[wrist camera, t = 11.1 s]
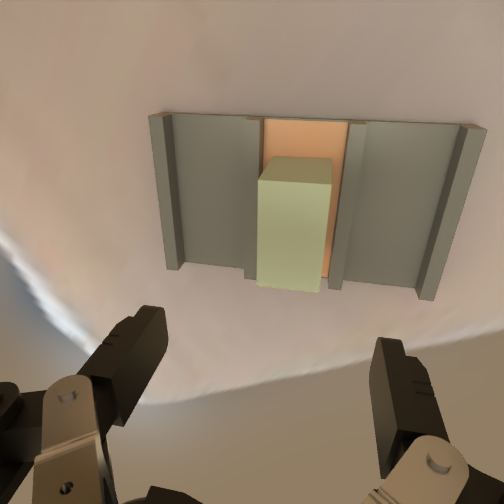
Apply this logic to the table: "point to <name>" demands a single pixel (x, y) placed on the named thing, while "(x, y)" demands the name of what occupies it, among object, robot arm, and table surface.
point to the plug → (293, 222)
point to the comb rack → (341, 200)
